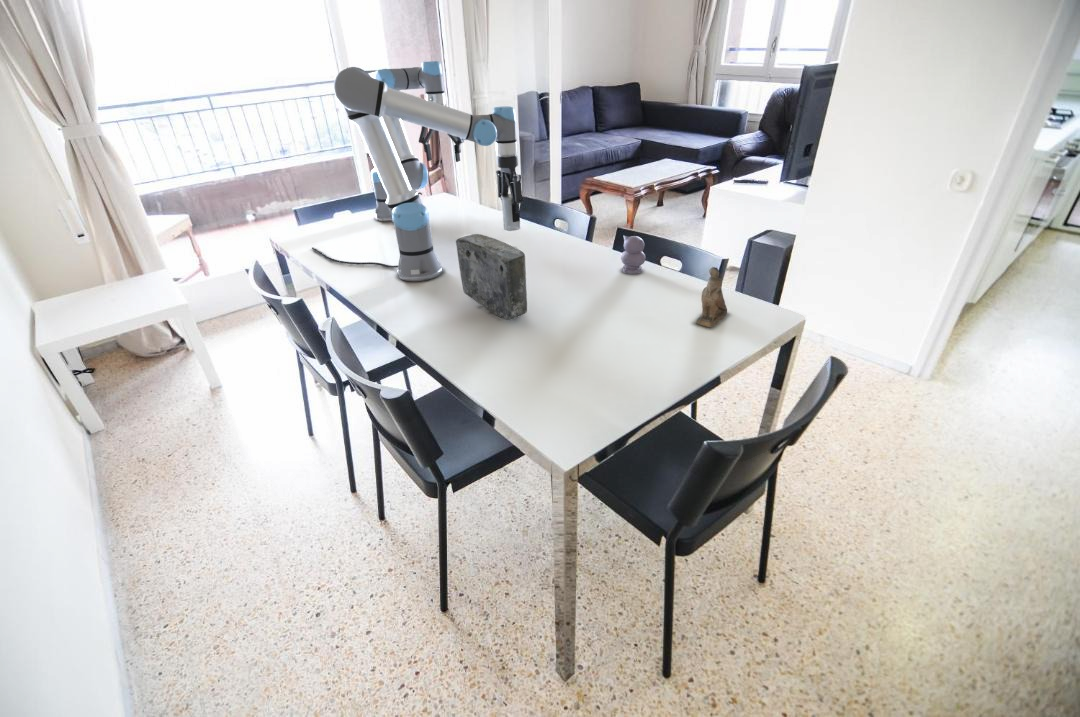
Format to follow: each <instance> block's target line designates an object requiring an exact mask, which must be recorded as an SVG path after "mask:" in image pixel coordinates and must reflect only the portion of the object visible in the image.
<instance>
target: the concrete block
mask: <svg viewBox="0 0 1080 717" xmlns="http://www.w3.org/2000/svg"><path fill="white" fill-rule="evenodd" d="M455 245H456V254H457V259H458V267H459V273H460V280H461V287H462V291H463V293H464V294H465V295H466V296H468V297H469V298H471V299H472V300H473V301H474V302H476V303H477V304H479V305H480V306H482V307H483V308H485V310H487V311H489V312H491V313H492V314H494V315H496V316H497V317H500V318H502V319H503V320H507V321H511V320H514V319H517V318H519V317H521V316H523V315H525V314H526V313H527V312H528V298H527V296H528V293H527V271H526V270H527V269H526V268H527V267H526V254H525V253H524V252H523V251H522V250H521V249H518V248H517V247H515V246H513V245H511V244H508V243H507V242H504V241H501V240H499V239H496V238H493V237H491V236H489V235H485V234H479V233H472V234H468V235H464V236H460V237H458V238H457V239H456V240H455Z"/></svg>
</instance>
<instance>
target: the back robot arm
mask: <svg viewBox="0 0 1080 717" xmlns="http://www.w3.org/2000/svg"><path fill="white" fill-rule="evenodd" d="M365 71H366V72H367V73H368V74H369V75H370V76H371V77H372V78H374V79H377V80H379V81H382V82H385V83H386V84H387V86H388V87H389V88H392V89H395V90H398V91H406V90H419V89H421V90H422V89H423V90H424V92H425V100H428V101H431V102H434V103H438V104H441V105H444V106H446V104H447V100H446V94H445V84H444V76H443V70H442V64H441V62H440V61H438V60H435V61H433V60H432V61H422V63H421V67H420V66H414V67H401V68H381V69H374V70H365ZM382 118H383V120H384V123H385V125H386V127H387V130H388V132H389V135H390V137H391V140H392V142H393V145H394V147H395V149H396V152H397V154H398V157H399V159H400V162H401V164H402V167H403V169H404V171H405V174H406V176H407V179H408V181H409V184H410V186H411V188H412V189H414V190H416V191H419V190H421V189H424V188H426V186H427V185H428V181H429V172H428V168H427V166H426V165H425V164H424V163H423V162H420V161H419V157H417V156H415V155H414V152H413V149H412V146H411V143H410V140H409V137H408V134H407V130H406V128H405V126H404V122H403V120H401V119H397V118H394V117H391V116H387V115H383V116H382ZM435 132H438V131H437V130H434V129H430V128H427V127H424V126H421V130H420V134H419V137H418V143H419V144H422V145H423V150H424V153H425V154H426V161H427V162H430V161H432V160H433V156H432V150H431V143H429V142H430V140H431V138H432V136H433V135H434V133H435ZM447 136H448V137H449V138H450V140H451V141H452V142H453V143H454V145H453V149H454V159H455V163H458V162H460V161H461V155H460V154H461V153H462V148H461V144H463V143H465V140H463V139H462V138H460V137H457V136H453V135H450V134H447ZM370 178H371V182H372V187H373V188H372V189H373V192H374V198H375V203H376V204H375V210H374V212H375V214H374V217H375V220H376V221H378V222H386V223H387V222H393V219H392V215H391V212H390V210H389V208H388V206H387V203H386V201H387V199H388V195H387V193H386V190H385V188H384V186H383V184H382V181H381V179H380V177H379V174H378V172H377V170H376V168H375V167H374V168H373V169H371V171H370ZM418 194H419V195H420V196H422V195H423V192H418Z"/></svg>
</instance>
